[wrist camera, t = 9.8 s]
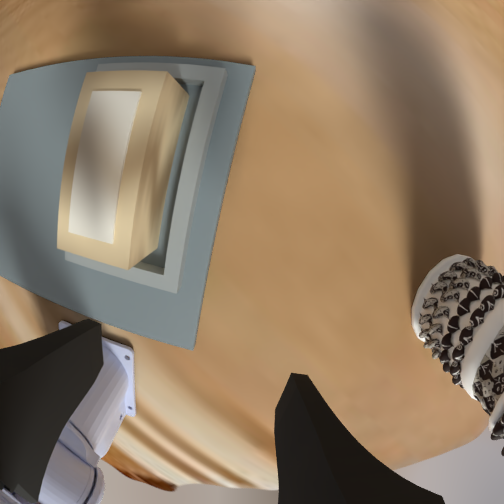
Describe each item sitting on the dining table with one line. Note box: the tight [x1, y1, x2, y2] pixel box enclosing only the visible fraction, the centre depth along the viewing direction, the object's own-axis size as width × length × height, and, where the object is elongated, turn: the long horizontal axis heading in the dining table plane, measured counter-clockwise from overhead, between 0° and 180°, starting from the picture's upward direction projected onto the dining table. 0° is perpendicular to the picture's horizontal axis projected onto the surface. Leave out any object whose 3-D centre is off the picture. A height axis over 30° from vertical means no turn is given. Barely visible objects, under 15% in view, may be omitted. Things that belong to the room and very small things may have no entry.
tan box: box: [57, 70, 189, 270], centre depth 14 cm, size 10×5×5 cm, turn 167°
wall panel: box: [0, 56, 256, 350], centre depth 16 cm, size 20×24×3 cm
